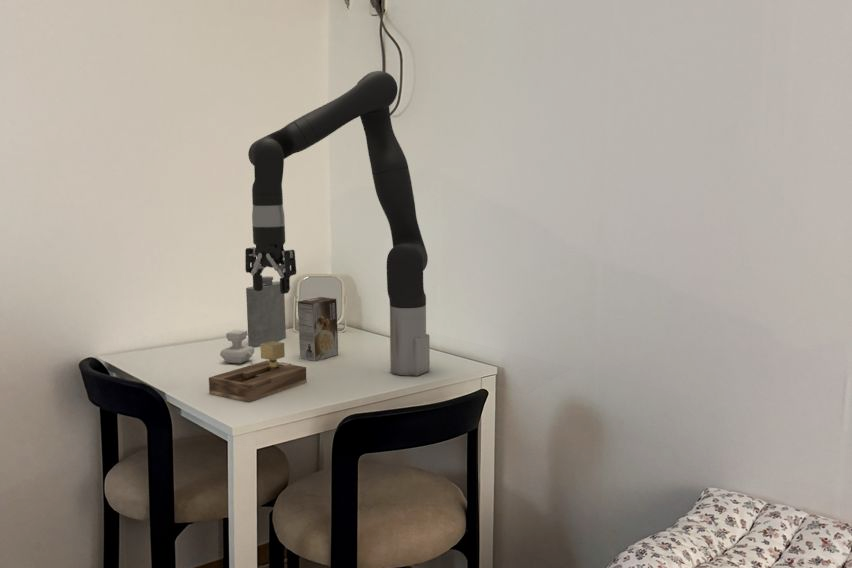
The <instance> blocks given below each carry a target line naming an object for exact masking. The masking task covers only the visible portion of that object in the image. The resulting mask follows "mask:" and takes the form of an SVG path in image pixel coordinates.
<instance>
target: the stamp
mask: <svg viewBox="0 0 852 568" xmlns="http://www.w3.org/2000/svg"><path fill="white" fill-rule="evenodd" d="M225 335H226V336H225V337H226V339H227V341H228V342H231V343H232V345H231V346H229V347H225V348H223V349H222V350H221V351H220V353H219V356H220V357H221V358H222V359H223V360H224V361H225V362H226V363H229V364H243V363H244V362H247V361H249V360H250V359H251V358H252V357H253V354H254V353H255V348H253V347H250V346H248V345H243V344H242V342H243V341H244V340H246V339H247V337H248V330H241V329H233V330H231V331H229V332H227V333H225Z"/></svg>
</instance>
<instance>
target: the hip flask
mask: <svg viewBox="0 0 852 568" xmlns="http://www.w3.org/2000/svg"><path fill="white" fill-rule="evenodd" d="M273 280H274V276H268V275H267V276H262V283H263V289H262V290H261V291H255V290H254V287H253V286H248V287H246V288H245V290H246V291H245V293H246V294H245V295H246V296H245V297H246V315H247V317H246V318H247V340H248V342H247V343H248V345H247V346H250V347H253V348H254V349H255V348H261V347H260V344H263V343H267V342H271V341H275V342H281V341H282V340H285V339H286V338H287V330H286V326H287V325H286V305H285V304H286V302H285V301H286V299H285V296H286V295H285V294H281V292H280V280H278V281H273Z"/></svg>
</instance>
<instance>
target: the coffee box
mask: <svg viewBox="0 0 852 568" xmlns="http://www.w3.org/2000/svg"><path fill="white" fill-rule="evenodd" d="M337 303H338V302H337V298H331V297H322V296H320V297H314V298H309V299H308V298H307V299H303V300H299V301H297V312H298V313H297V314H298V315H297V316H298V335H299V336H298V337H299V338H298V339H299V341H298V342H299V358H300V359H303V360H309V361H313V362H319V361H321V360H324V359H328V358H331V357H334V356H338V355H339V337H338V331H339V330H338V310H337V309H338V308H337Z"/></svg>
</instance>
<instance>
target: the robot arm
mask: <svg viewBox="0 0 852 568" xmlns="http://www.w3.org/2000/svg"><path fill="white" fill-rule="evenodd" d="M398 88H399V87H398V85H397V81H396V78H394V77H393V76H392V75H391V74H390V73H388V72H386V71H384V70H375V71H371V72H369V73H367V74H366V75H364V76H363V77H362V78H361V79H359V81H358V82H357V83H356V85H355V86H353V87H352V88H351V89H349V90H348V91H347V92H345V93H343V94H342V95H340V96H339V97H337V98H335V99H333V100H331V101H330V102H327V103H326V104H323V105H321V106H320V107H317V108H315V109H313V110H311V111H310V112H307V113H306V114H303V115H301V116H300V117H298V118H297V119H295V120H293V121H291V122H289V123H288V124H286V125H285V126H283V127H282V128H280V129H278V130H275V131H273V132H272V133H270V134H267V135H265V136H263V137H261V138H260V139H257V140H256V141H254V142H253V143H252V144H251V145H250V147H249V150H248V153H247V155H248V160H249V161H250V163H251V164H252V166H253V167H254V182H253V183H252V189H251V192H252V193H251V195H252V196H251V197H252V198H251V199H252V212H251V213H252V214H251V219H252V223H251V224H252V243H253V244H254V245H255V247H246V249H245V256H244V257H245V258H244V259H245V260H244V262H245V264H244V265H245V272H246V273H247V274H248V273H249V274H250V275H251V276H252V287H254V290H255V291H261V290H262V289H263V283H262V277H263V275H262V273H263V272H264V270H265V268H273V269H274V271H276V272H277V274H278V276H279V277H280V278H279V281H280V292H281V294H284V295H285V294H289V291H290V289H291V287H290V286H291V284H290V283H291V282H290V279H291V276H295V275H296V274H297V264H296V251H295V250H294V249H287V250H285V249H284V245H285V243H286V228H285V227H286V224H285V220H286V219H285V211H284V198H283V186H282V185H283V177H284V164H285V159H287V158H288V157H290V156H292V155H294V154H296V153H300V152H302V151H304V150H307V149H308V148H310V147H312V146H314V145H316V144H317V143H319V142H321V141H322V140H324V139H325V138H327V137H328V136H330V135H332V134H334V132H336V131H338V130H339V129H340V128H342V127H343V126H345V125H346V124H348V123H350V122H351V121H354V120H355V119H357V118H359V117H360V120H361V124H362V127H363V130H364V135H365V140H366V146H367V152H368V158H369V163H370V170H371V174H372V179H373V184H374V190H375V193H376V196H377V199H378V201H379V204H380V206H381V208H382V210H383V213H384V215H385V217H386V219H387V221H388V225H389V228H390V233H391V241H392V247H391V249H390V250H389V252H388V254H387V258H386V289H387V290H386V291H387V295H388V299H389V352H390V353H389V356H390V357H389V358H390V359H389V361H390V373H391V374H395V375H398V376H415V377H418V376H420V375H422V374H424V373H427V372H430V370H431V368H430V366H431V365H430V363H431V361H430V359H431V357H430V354H431V353H430V349H431V348H430V334H428V333H427V296H426V293H425V288H424V287H425V286H424V271H425V269H426V267H427V265H428V262H429V260H428V258H429V257H428V256H429V255H428V252H427V249H426V246H425V243H424V239H423V237H422V234H421V230H420V226H419V223H418V218H417V217H418V216H417V210H416V204H415V203H416V202H415V196H414V190H413V185H412V183H413V182H412V179H411V174H410V169H409V164H408V160H407V157H406V155H405V153H404V151H403V149H402V147H401V145H400V142H399V141H398V138H397V137H396V135H395V132H394V129H393V125H392V124H393V123H392V120H391V119H392V118H391V113H390V111H391V110H390V106H391V105H392V104H393V103H394V102H395V100H396V99H397V96H398V91H399V90H398Z"/></svg>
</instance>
